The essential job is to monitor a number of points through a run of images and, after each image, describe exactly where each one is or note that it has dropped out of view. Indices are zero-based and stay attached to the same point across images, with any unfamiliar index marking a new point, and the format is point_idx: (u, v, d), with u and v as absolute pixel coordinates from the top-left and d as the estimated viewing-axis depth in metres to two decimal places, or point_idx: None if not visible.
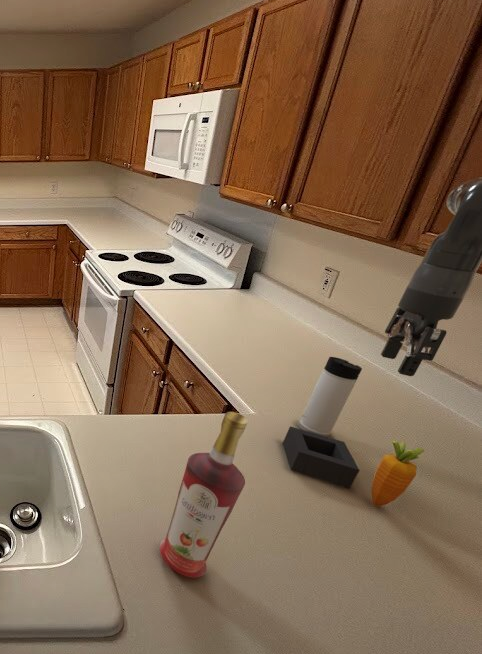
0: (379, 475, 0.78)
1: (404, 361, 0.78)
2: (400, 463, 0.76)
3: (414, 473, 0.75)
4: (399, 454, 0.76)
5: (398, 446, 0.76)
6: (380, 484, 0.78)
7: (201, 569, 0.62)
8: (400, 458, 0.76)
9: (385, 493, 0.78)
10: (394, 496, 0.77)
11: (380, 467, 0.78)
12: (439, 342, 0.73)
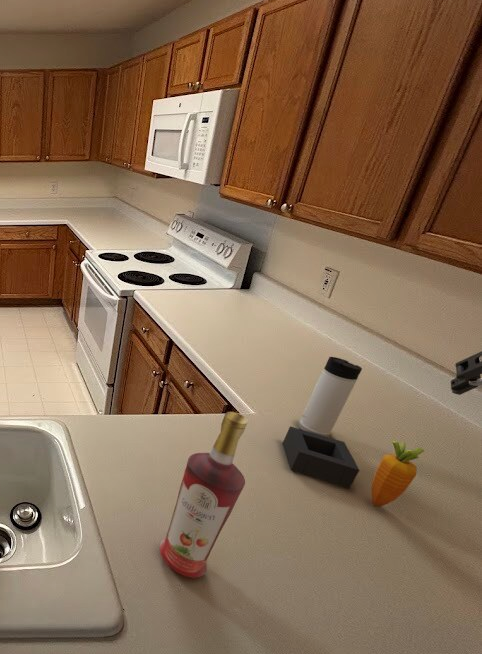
0: (379, 475, 0.78)
1: None
2: (400, 463, 0.76)
3: (414, 473, 0.75)
4: (399, 454, 0.76)
5: (398, 446, 0.76)
6: (380, 484, 0.78)
7: (201, 569, 0.62)
8: (400, 458, 0.76)
9: (385, 493, 0.78)
10: (394, 496, 0.77)
11: (380, 467, 0.78)
12: None
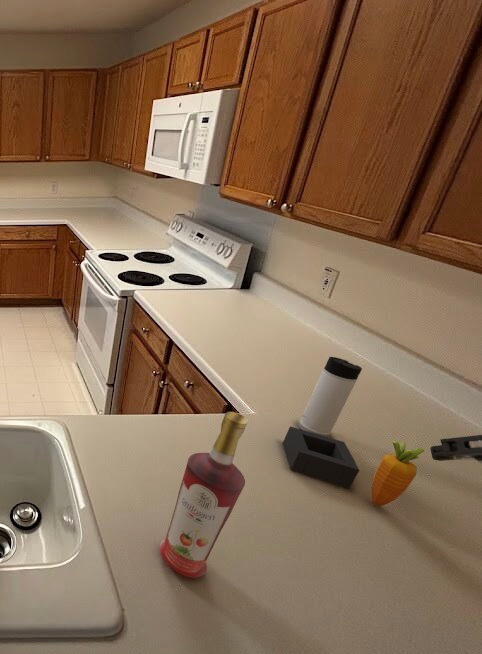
0: (379, 475, 0.78)
1: None
2: (400, 463, 0.76)
3: (414, 473, 0.75)
4: (399, 454, 0.76)
5: (398, 446, 0.76)
6: (380, 484, 0.78)
7: (201, 569, 0.62)
8: (400, 458, 0.76)
9: (385, 493, 0.78)
10: (394, 496, 0.77)
11: (380, 467, 0.78)
12: None
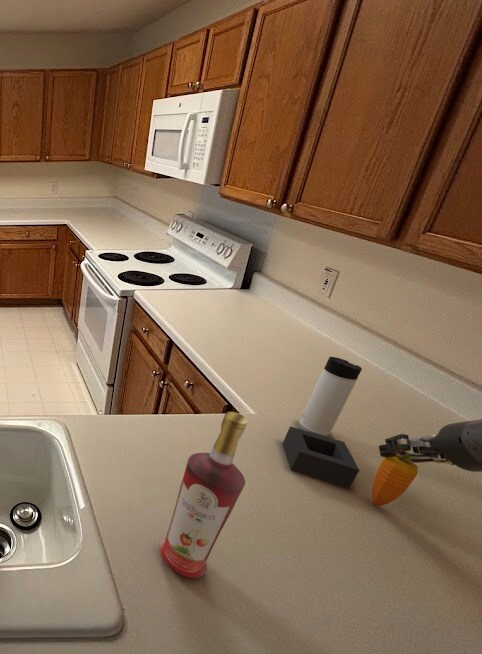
0: (380, 475, 0.78)
1: (425, 461, 0.75)
2: (401, 462, 0.76)
3: (415, 472, 0.75)
4: None
5: None
6: (381, 483, 0.78)
7: (201, 569, 0.62)
8: (401, 457, 0.76)
9: (386, 493, 0.78)
10: (395, 496, 0.77)
11: (381, 466, 0.78)
12: None
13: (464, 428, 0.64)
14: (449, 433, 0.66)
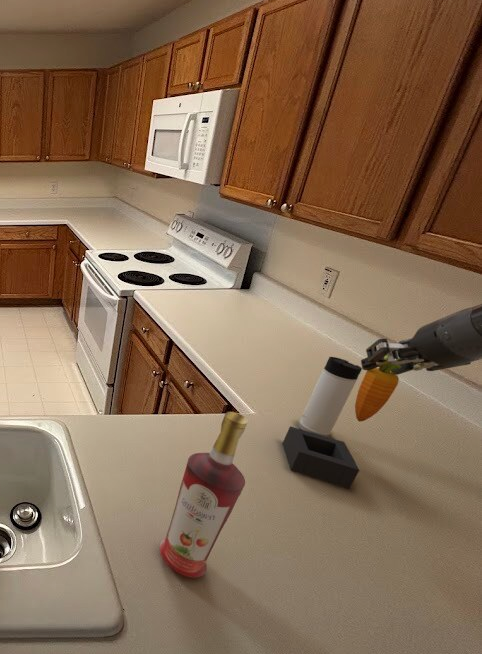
0: (362, 388, 0.80)
1: (406, 371, 0.77)
2: (383, 373, 0.78)
3: (396, 382, 0.77)
4: (382, 365, 0.78)
5: None
6: (364, 396, 0.80)
7: (201, 569, 0.62)
8: (383, 369, 0.78)
9: (368, 405, 0.79)
10: (377, 407, 0.79)
11: (364, 380, 0.80)
12: None
13: (439, 322, 0.66)
14: (425, 330, 0.68)
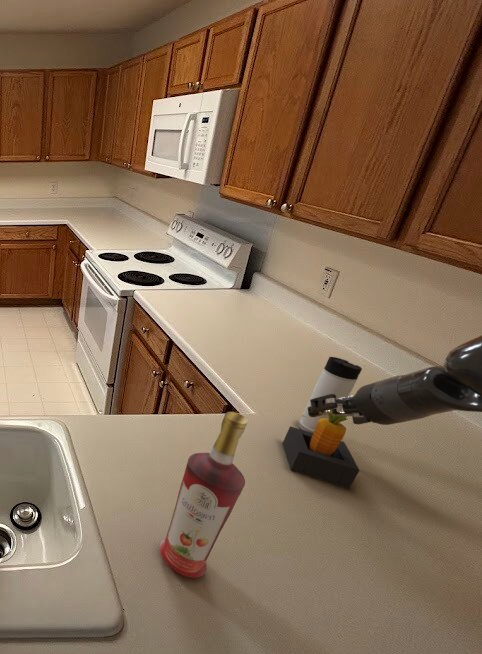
0: (314, 436, 0.88)
1: (365, 422, 0.84)
2: (331, 424, 0.86)
3: (343, 433, 0.85)
4: (331, 416, 0.87)
5: (330, 409, 0.86)
6: (315, 444, 0.88)
7: (201, 569, 0.62)
8: (332, 420, 0.86)
9: (320, 452, 0.88)
10: (327, 454, 0.87)
11: (315, 429, 0.88)
12: None
13: (374, 386, 0.74)
14: (363, 392, 0.76)
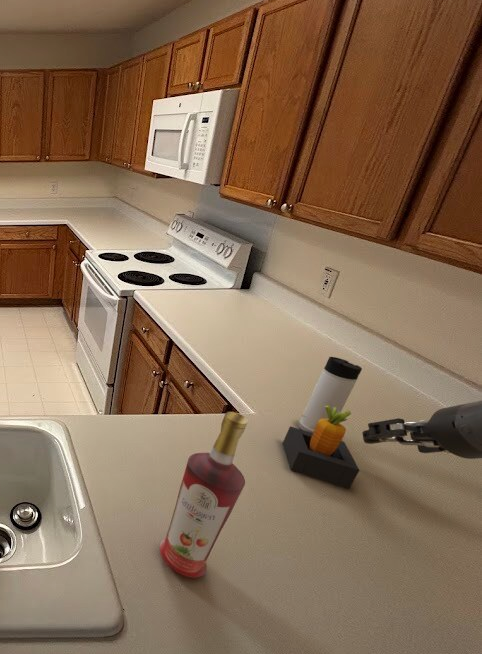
0: (314, 437, 0.88)
1: (436, 451, 0.69)
2: (331, 425, 0.86)
3: (342, 433, 0.85)
4: (331, 417, 0.86)
5: (330, 410, 0.86)
6: (315, 444, 0.88)
7: (201, 569, 0.62)
8: (331, 420, 0.86)
9: (319, 452, 0.88)
10: (327, 455, 0.87)
11: (315, 429, 0.88)
12: None
13: (457, 411, 0.59)
14: (442, 417, 0.61)
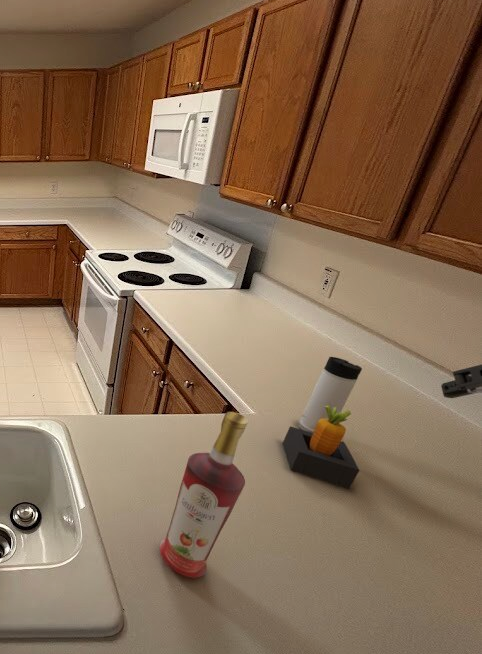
0: (314, 437, 0.88)
1: None
2: (331, 425, 0.86)
3: (342, 433, 0.85)
4: (330, 417, 0.86)
5: (330, 410, 0.86)
6: (315, 444, 0.88)
7: (201, 569, 0.62)
8: (331, 420, 0.86)
9: (319, 452, 0.88)
10: (327, 455, 0.87)
11: (315, 429, 0.88)
12: None
13: None
14: None
